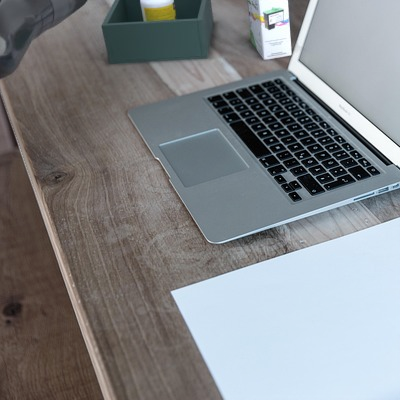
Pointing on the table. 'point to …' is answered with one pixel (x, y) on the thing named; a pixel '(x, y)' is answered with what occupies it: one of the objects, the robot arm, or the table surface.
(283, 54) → the ink box
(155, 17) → the supplement bottle
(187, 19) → the bin
